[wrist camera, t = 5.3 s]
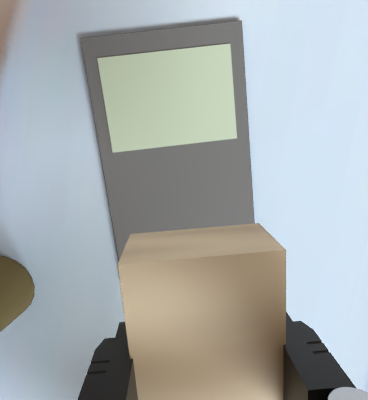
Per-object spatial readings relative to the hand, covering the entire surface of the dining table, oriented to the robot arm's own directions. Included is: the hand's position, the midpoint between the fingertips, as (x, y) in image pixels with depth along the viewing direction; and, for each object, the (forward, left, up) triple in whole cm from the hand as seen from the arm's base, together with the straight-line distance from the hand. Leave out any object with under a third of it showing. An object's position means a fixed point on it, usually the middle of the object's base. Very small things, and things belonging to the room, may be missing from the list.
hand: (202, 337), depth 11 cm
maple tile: (0, 0, 0) cm, 0 cm away
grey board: (+4, -2, -15) cm, 16 cm away
